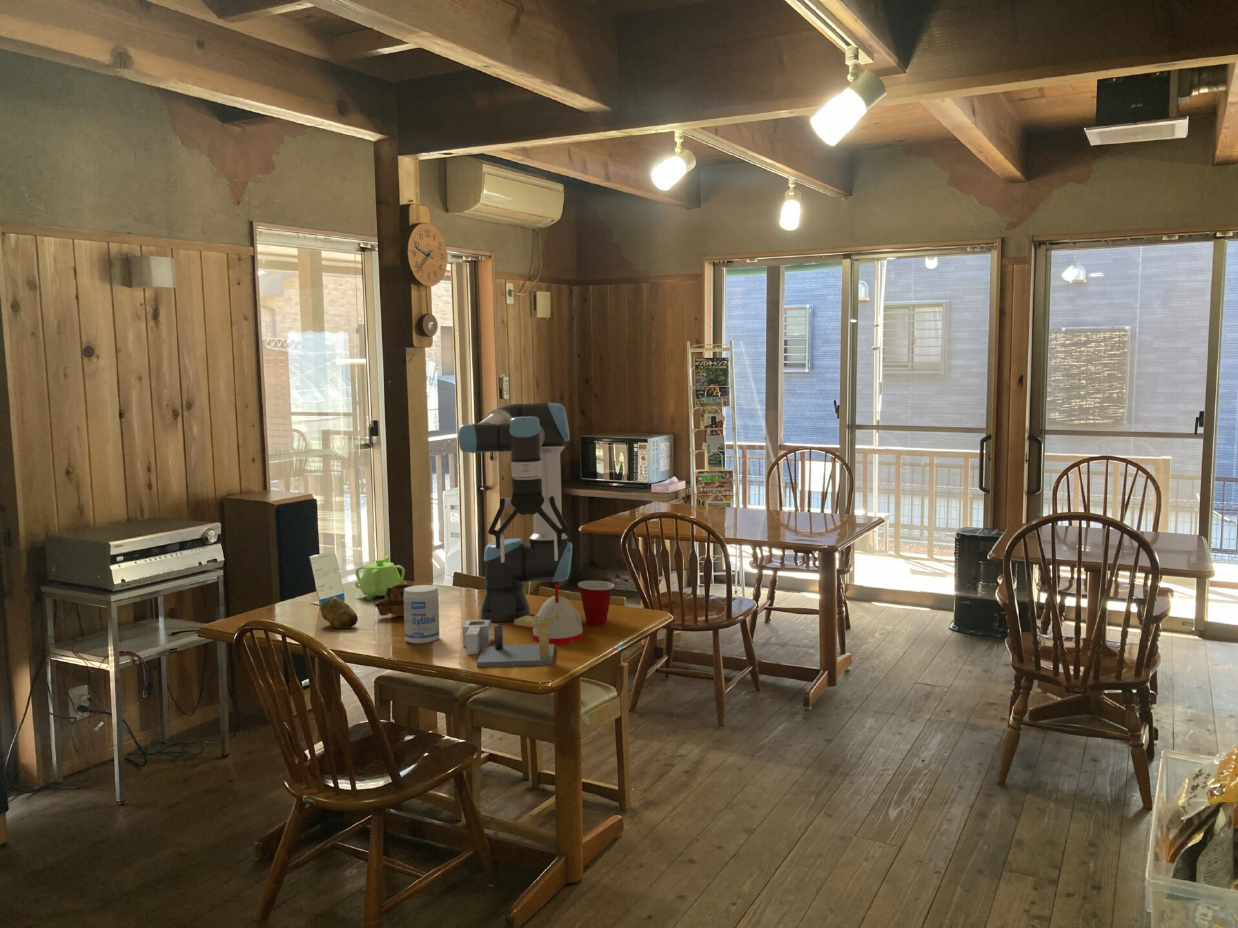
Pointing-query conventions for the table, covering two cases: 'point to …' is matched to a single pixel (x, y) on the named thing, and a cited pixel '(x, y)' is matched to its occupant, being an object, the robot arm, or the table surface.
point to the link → (476, 635)
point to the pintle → (498, 636)
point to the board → (514, 656)
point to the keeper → (543, 631)
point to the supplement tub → (421, 614)
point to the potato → (338, 613)
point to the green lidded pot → (379, 578)
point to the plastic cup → (595, 601)
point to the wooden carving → (393, 601)
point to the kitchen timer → (560, 620)
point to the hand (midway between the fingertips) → (529, 560)
